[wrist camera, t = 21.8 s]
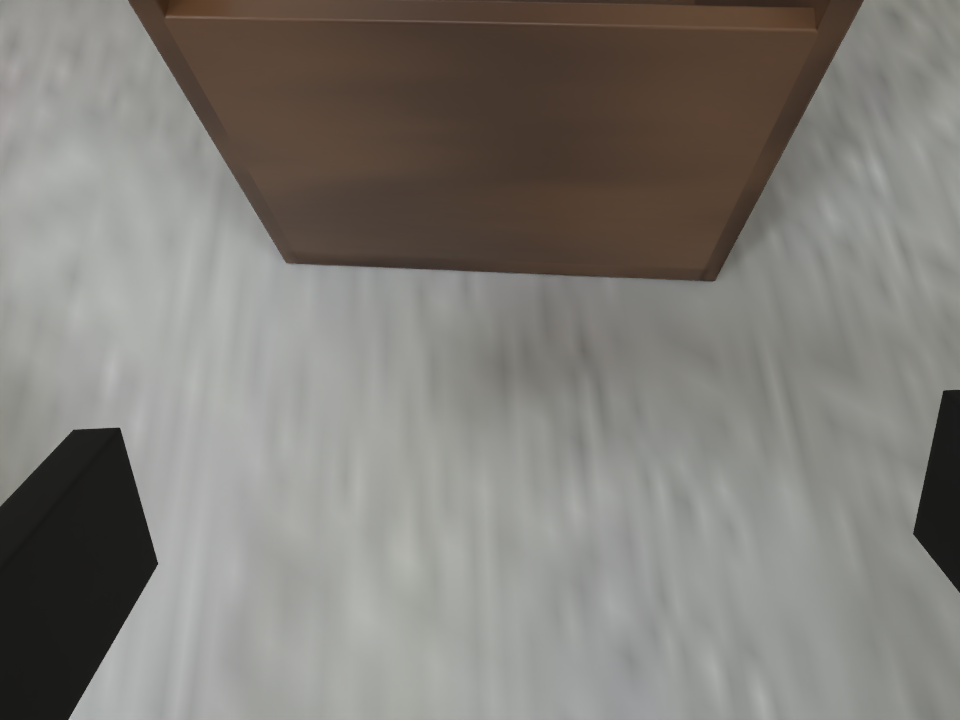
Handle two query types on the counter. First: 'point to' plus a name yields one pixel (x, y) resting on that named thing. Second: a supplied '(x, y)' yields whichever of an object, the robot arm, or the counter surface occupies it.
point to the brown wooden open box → (502, 124)
